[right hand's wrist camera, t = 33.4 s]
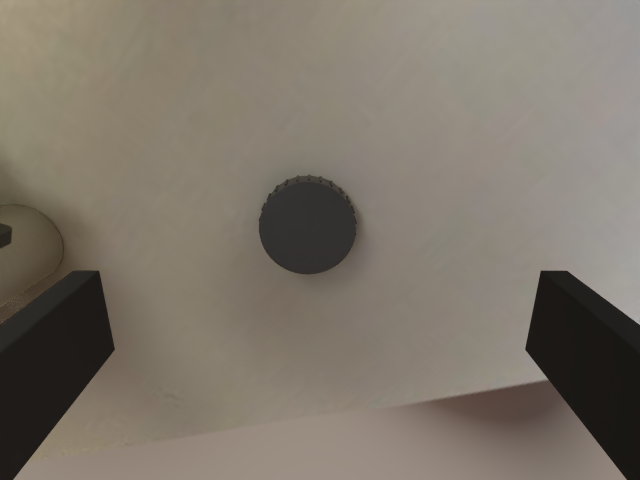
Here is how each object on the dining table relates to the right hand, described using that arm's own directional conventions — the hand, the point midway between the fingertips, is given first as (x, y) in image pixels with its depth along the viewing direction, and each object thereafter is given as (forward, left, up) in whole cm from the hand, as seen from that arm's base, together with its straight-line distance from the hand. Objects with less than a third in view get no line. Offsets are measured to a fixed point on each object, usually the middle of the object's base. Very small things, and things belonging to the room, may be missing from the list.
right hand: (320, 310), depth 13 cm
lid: (+1, -1, -11) cm, 11 cm away
